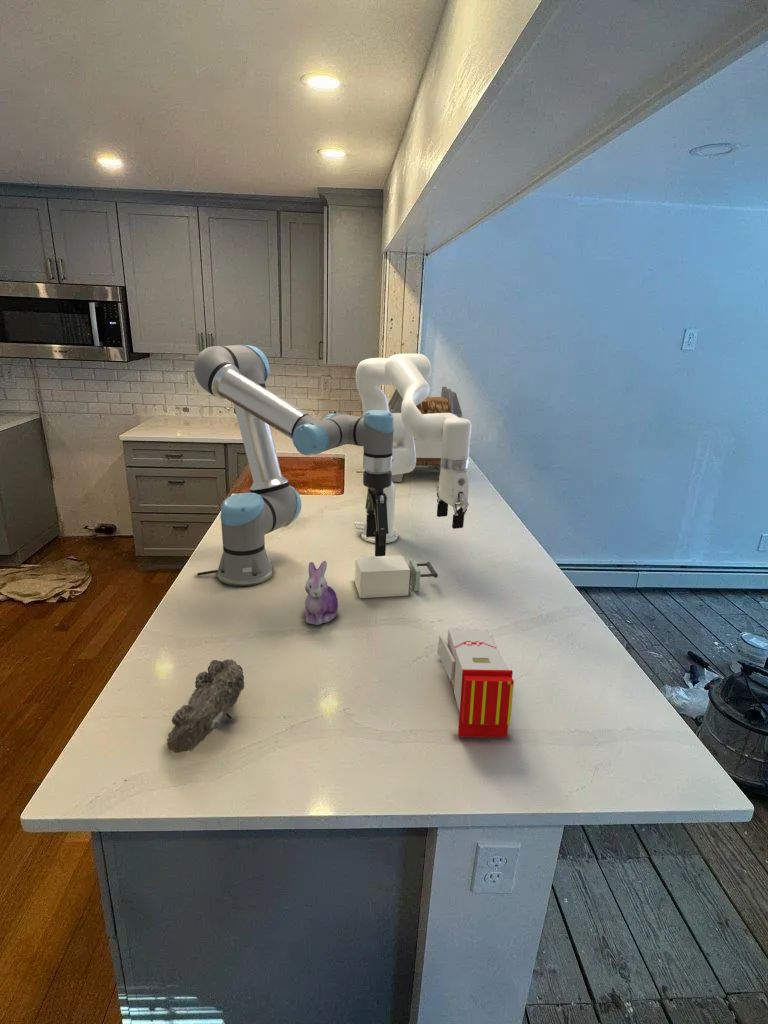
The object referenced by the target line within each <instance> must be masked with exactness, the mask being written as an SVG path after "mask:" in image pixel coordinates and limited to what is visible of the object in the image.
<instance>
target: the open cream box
mask: <svg viewBox="0 0 768 1024" xmlns="http://www.w3.org/2000/svg"><path fill="white" fill-rule="evenodd" d="M354 564H355V566H354V584H355V588H356V590H357V593H358V596H359V599H369V598H387V597H388V598H389V597H405V596H409V593H410V589H409V579H410V569H409V564H408V563H407V561H406V560H405V557H404V556H403V554H402V555H401V554H398V555H385V556H375V555H374V556H355V563H354Z"/></svg>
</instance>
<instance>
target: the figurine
mask: <svg viewBox="0 0 768 1024" xmlns="http://www.w3.org/2000/svg"><path fill="white" fill-rule="evenodd" d="M327 567H328V561H327V560H324V561H323V560H322V562H321V563H320V565H319V566H318V568H317V567H316V565H315V563H314V561H310V562H308V578H307V580H306V582H305V585H304V588H305V592H306V593H307V595H306V597H305V600H304V608H305V618H306V619H305V621H306V623H307V624H311V625H315V626H319V625H322V624H327V623H329V622H331V621H332V620H334V619H335V618H336V617H337V614H338V606H339V602H338V596H337V593H336V592H335V590H334V589H333V587H331V586H330V585H329V584H328V582H327V580H326V578H325V574H326V571H327Z"/></svg>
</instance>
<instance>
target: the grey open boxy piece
mask: <svg viewBox="0 0 768 1024" xmlns="http://www.w3.org/2000/svg"><path fill="white" fill-rule="evenodd" d="M440 393H441V394H440V396H427V397H426V398H425V400H424V401H422V402H421V403H420V404H418V405H417V406H416V407H417V408H418V410H419V411H420V412H421V413H422V414H432V413H452V414H454V415H456V416H457V417H459V418H463V411H462V408H461V405H460V402H459V398H458V395H457V392H455V391H453V390H452V389H451V388H447V386H442V387H441V392H440ZM402 402H403V398H402V397H401V395H400V394H399V392H398V391H397V389H396V388H395V390H394V392H393V394H392V395H391V398H390V400H388V406H389V412H391V413H401V405H402ZM414 443H415V451H416V466H415V467H417V466H418V467H436V468H437V470H438V469H439V472H440V471H441V468H440V465H441V453H442V440H436V441H426V442H421V441H418V440H416V439H415V438H414ZM393 446H396V445H395V442H393ZM403 475H404V473H403V474H396V475H392V482H393V483H402V482H403Z"/></svg>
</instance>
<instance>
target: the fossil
mask: <svg viewBox="0 0 768 1024" xmlns="http://www.w3.org/2000/svg"><path fill="white" fill-rule="evenodd" d="M243 670H244V669H243V667H242V665H240V664H237V662H236V661H235V660H234V659H232V658H231V659H227V658H226V659H224V660H223V661H222V660H217V659H212V660H211V661H210V663H209V665H208V666H207V671H201V672H199V673H198V674H197V675H196V676H195V680H194V684H195V685H194V687H195V689H194V690H193V693H192V694H191V697H190V698H189V700H188V704H184V705H182V706H181V707H180V709H177V710H176V711H175V713H174V715H173V716H172V718H171V723H172V724H173V727H172V730H171V731H170V732H168V734H167V738H166V741H167V742H166V745H167V749H168V750H169V751H173V752H174V753H176V754H178V753H182V752H188V751H189V752H192V751H193V750H195V748H196V747H197V746H199V744H200V743H201V742H203V741H204V740H205V739H206V738H207V737H208V736H209V735H210V734H211V733H212V732H214V730H215V729H217V727H218V726H219V724H220V722H221V721H222V720H223V719H224V718H225V716H226V717H227V719H229V720H233V717H232V715H230V714H229V710H230V709H231V708H234V706H235V704H236V703H237V702H238V699H239V697H240V695H241V693H242V691H243V690H245V689H244V688H245V675H244V671H243Z"/></svg>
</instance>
